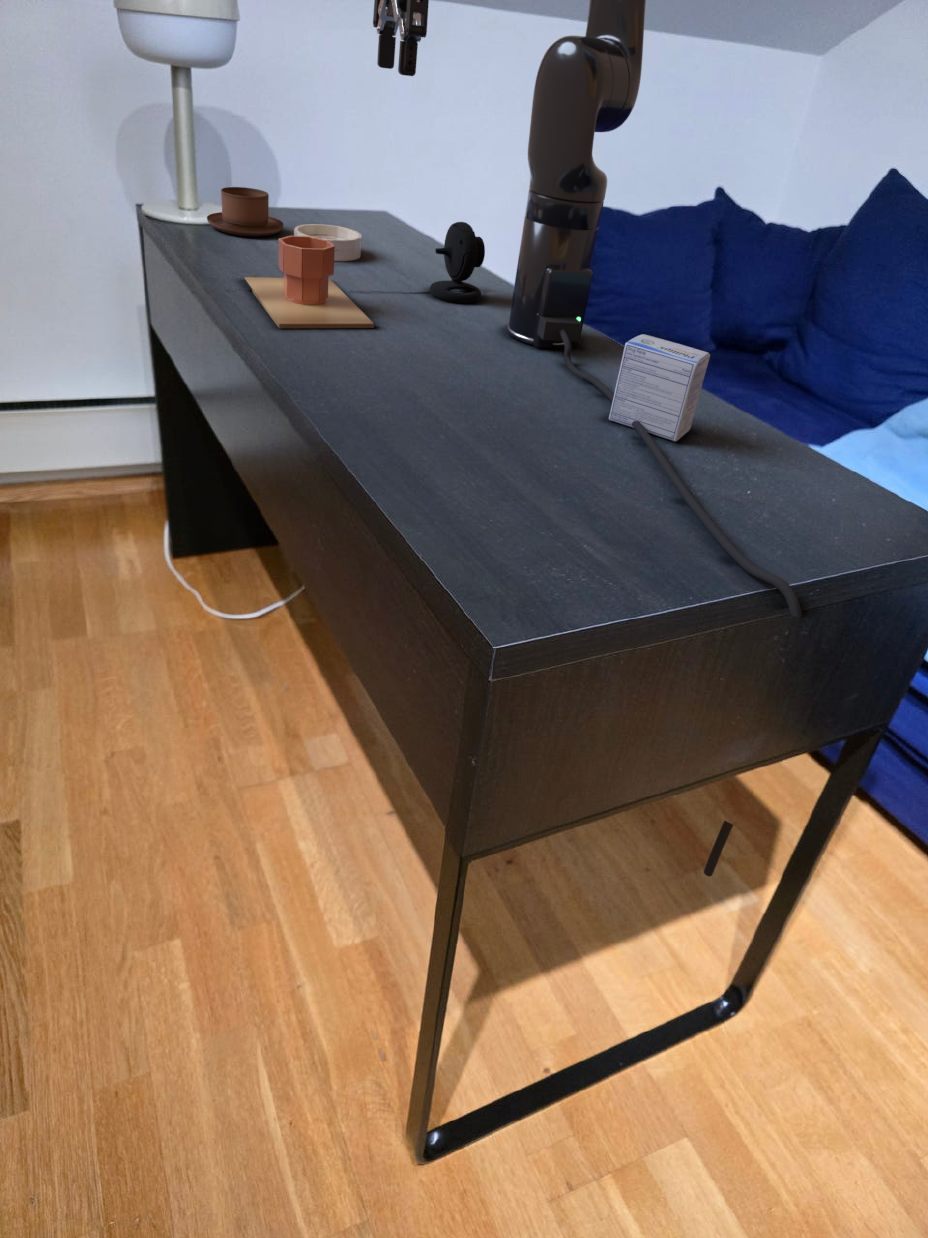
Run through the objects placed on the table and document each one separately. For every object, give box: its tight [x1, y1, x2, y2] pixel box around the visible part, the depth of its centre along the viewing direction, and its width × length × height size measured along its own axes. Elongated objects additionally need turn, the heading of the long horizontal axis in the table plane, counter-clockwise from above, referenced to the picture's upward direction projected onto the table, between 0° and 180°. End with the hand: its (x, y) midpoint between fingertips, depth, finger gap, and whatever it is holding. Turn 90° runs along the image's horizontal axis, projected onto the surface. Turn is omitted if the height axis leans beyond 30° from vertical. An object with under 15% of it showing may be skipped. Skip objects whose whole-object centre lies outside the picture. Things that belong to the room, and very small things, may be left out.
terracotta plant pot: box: [278, 235, 335, 305], centre depth 113 cm, size 7×7×7 cm
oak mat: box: [244, 276, 375, 330], centre depth 115 cm, size 20×12×1 cm, turn 23°
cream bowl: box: [293, 223, 363, 262], centre depth 137 cm, size 10×10×4 cm
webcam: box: [429, 221, 486, 304], centre depth 125 cm, size 8×8×10 cm
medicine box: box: [608, 333, 711, 443], centre depth 92 cm, size 8×4×9 cm, turn 58°
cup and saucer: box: [206, 186, 284, 238], centre depth 141 cm, size 12×12×6 cm
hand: (395, 71), depth 119 cm, fingers open, 8 cm apart
